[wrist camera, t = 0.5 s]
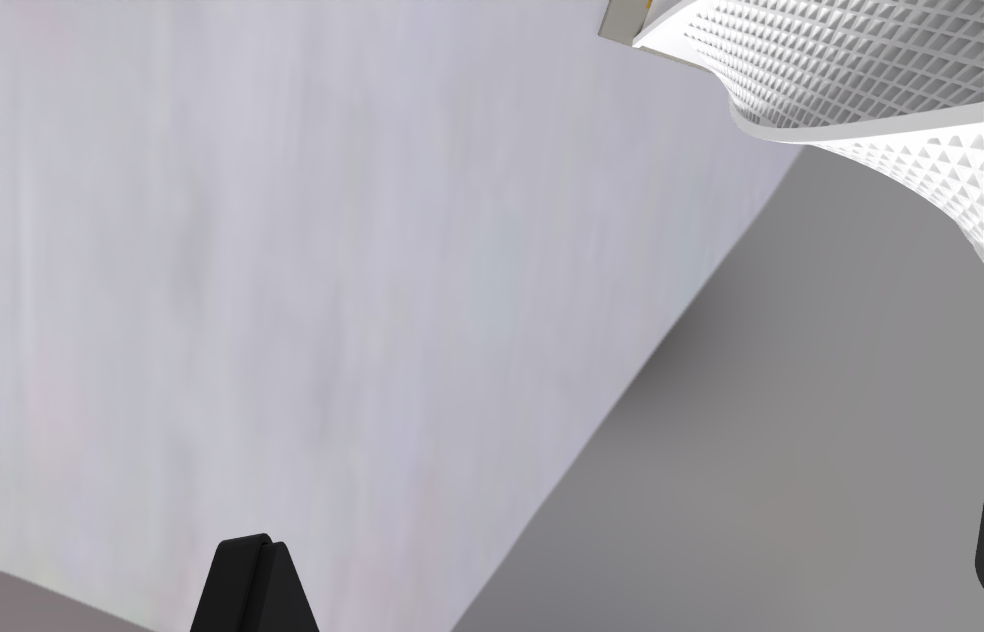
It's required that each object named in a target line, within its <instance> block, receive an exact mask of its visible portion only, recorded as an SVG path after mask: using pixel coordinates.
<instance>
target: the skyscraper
mask: <svg viewBox="0 0 984 632" xmlns="http://www.w3.org/2000/svg"><path fill="white" fill-rule="evenodd" d="M598 35H599V36H601V37H604V38H607V39H610V40H613V41H616V42H619V43H622V44H625V45H628V46H631V47H634V48H637V49H640V50H643V51H646V52H649V53H652V54H655V55H658V56H661V57H664V58H667V59H670V60H673V61H676V62H680V63H683V64H686V65H689V66H692V67H695V68H698V69H701V70H704V71H707V72H710V73H713V74H716V75H717V76H718V77H719V78H720V79H721V81H722V82H723V83H724V85H725V86H726V88H727V89H728V91H729V109H730V114H731V116H732V119H733V121H734V123H735V124H736V125H737V126H738V127H739V128H740V129H741V130H742V131H744V132H745V133H747V134H749V135H751V136H754V137H757V138H760V139H765V140H770V141H775V142H783V143H790V144H810V145H814V146H817V147H820V148H823V149H826V150H829V151H832V152H834V153H837V154H840V155H842V156H845V157H848V158H850V159H853V160H855V161H857V162H860V163H862V164H864V165H867V166H869V167H871V168H873V169H875V170H877V171H879V172H881V173H883V174H885V175H887V176H889V177H891V178H893V179H894V180H896V181H898V182H900V183H902V184H904V185H905V186H907V187H908V188H910V189H912V190H913V191H915V192H917V193H918V194H920V195H921V196H923V197H924V198H926V199H927V200H928V201H930V202H931V203H933V204H934V205H936V206H937V207H938V208H940V209H941V210H942V211H944V212H945V213H946V214H947V215H949V216H950V217H951V218H952V219H954V220H955V221H956V223H957V224H958V225H959V227H960V229H961V230H962V231H963V233H964V235H965V236H966V238H967V239H968V240H969V241H970V242H971V243H972V244H973V245H974V249H975V251H976V252H977V254H978V255H979V256H980V258H981V260H982V261H983V263H984V0H610V2H609V4H608V7H607V10H606V13H605V16H604V19H603V21H602V24H601V27H600V30H599V33H598Z"/></svg>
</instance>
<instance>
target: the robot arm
mask: <svg viewBox="0 0 984 632" xmlns="http://www.w3.org/2000/svg"><path fill="white" fill-rule="evenodd" d="M975 568H976V573H977V576H978V579H979V581H980V583H981V585H982V587H983V588H984V505H983V512H982V518H981V525H980V531H979V538H978V544H977V550H976V557H975ZM190 632H319V629H318V627H317V624H316V621H315V619H314V616H313V614H312V611H311V608H310V606H309V603H308V601H307V598H306V595H305V593H304V590H303V587H302V585H301V582H300V580H299V577H298V574H297V572H296V569H295V567H294V564H293V561H292V559H291V556H290V554H289V551H288V548H287V546H286V544H285V543H284V542H276V543H273V542H272V540H271V538H270V537H269V536H268V535H267V534H265V533H262V534H256V535H251V536H245V537H240V538H234V539H229V540H224V541H222V542H221V543H219V545H218V547H217V549H216V552H215V555H214V558H213V561H212V565H211V568H210V571H209V574H208V577H207V580H206V583H205V586H204V589H203V592H202V595H201V599H200V602H199V605H198V608H197V611H196V614H195V617H194V620H193V623H192V626H191V630H190Z"/></svg>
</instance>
